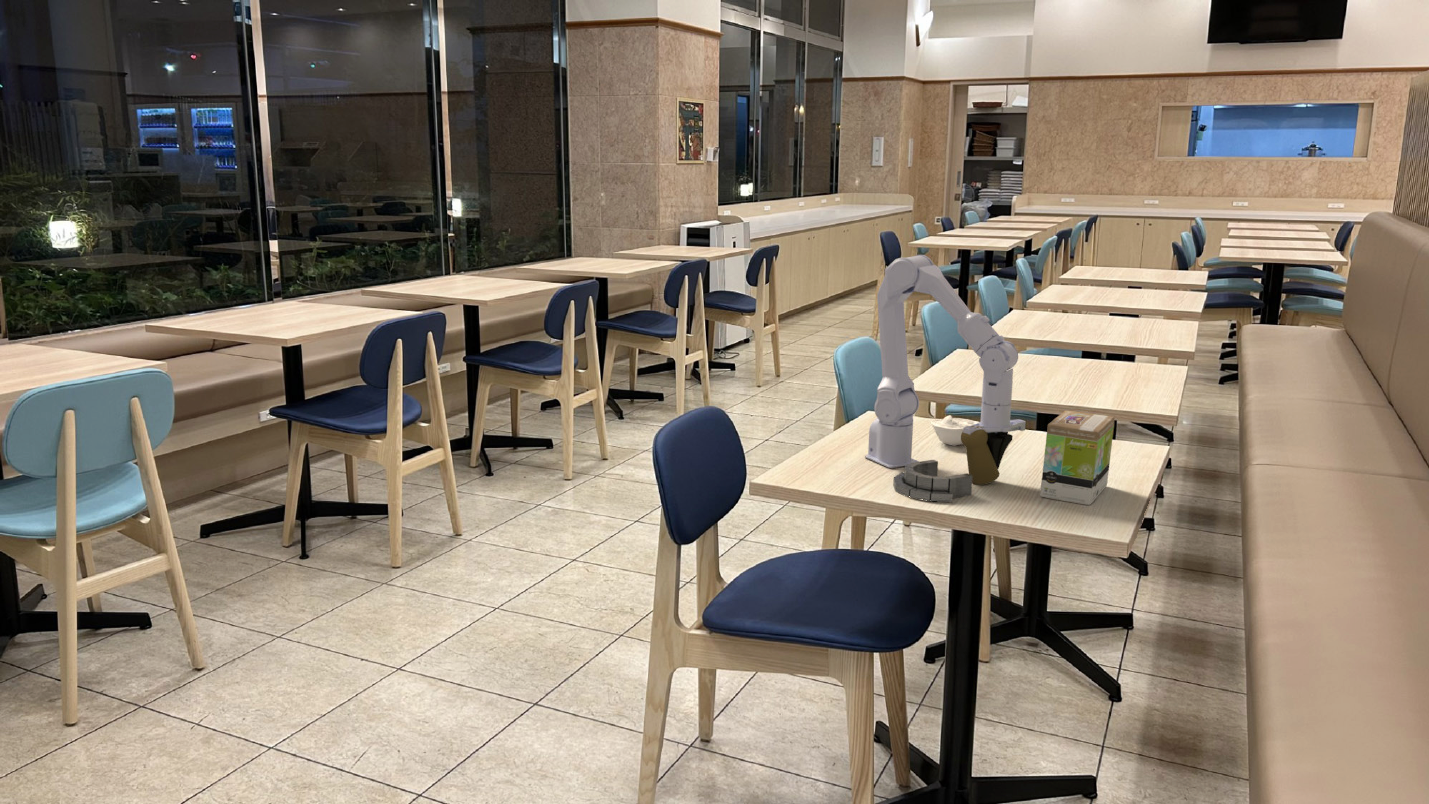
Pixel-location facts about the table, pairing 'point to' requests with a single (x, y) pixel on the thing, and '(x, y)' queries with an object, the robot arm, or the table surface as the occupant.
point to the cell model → (951, 429)
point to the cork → (979, 457)
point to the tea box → (1077, 457)
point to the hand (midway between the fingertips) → (992, 468)
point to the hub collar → (931, 483)
